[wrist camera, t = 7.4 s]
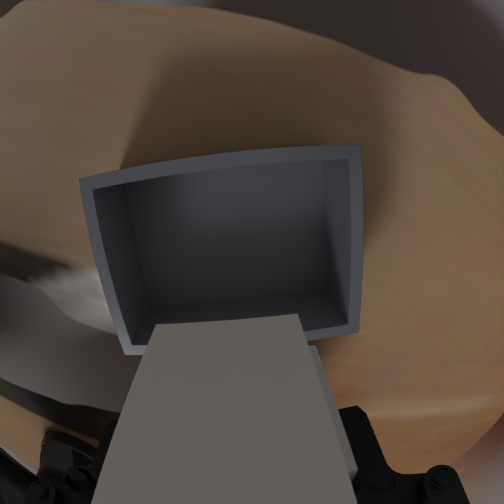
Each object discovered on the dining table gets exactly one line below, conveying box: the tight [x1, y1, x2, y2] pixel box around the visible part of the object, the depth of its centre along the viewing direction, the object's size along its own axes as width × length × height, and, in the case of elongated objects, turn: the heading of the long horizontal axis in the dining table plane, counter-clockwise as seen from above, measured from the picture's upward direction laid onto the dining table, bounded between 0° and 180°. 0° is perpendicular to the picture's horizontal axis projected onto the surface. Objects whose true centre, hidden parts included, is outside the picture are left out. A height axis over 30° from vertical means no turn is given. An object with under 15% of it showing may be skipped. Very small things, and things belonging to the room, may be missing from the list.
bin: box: [79, 144, 364, 355], centre depth 25 cm, size 20×15×8 cm
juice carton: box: [91, 314, 357, 504], centre depth 9 cm, size 6×6×10 cm
